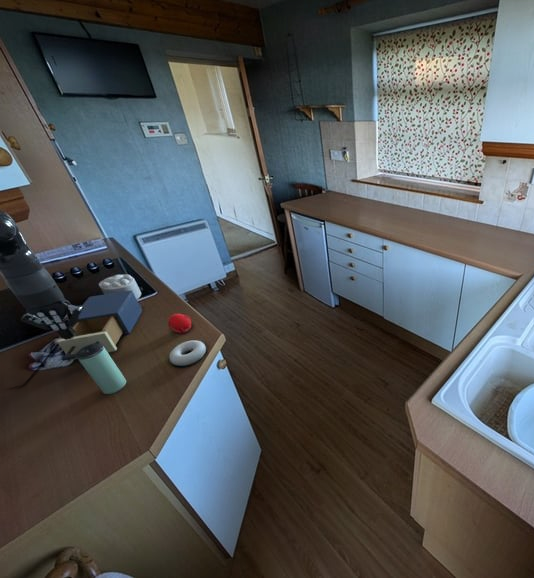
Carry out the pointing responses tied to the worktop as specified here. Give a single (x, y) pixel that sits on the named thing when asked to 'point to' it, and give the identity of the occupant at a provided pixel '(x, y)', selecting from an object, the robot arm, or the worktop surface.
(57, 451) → the worktop surface
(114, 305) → the cabinet
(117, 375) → the tin
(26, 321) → the robot arm
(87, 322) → the drawer
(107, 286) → the lumpy-topped squat cylinder
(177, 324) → the red rounded lump
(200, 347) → the donut
